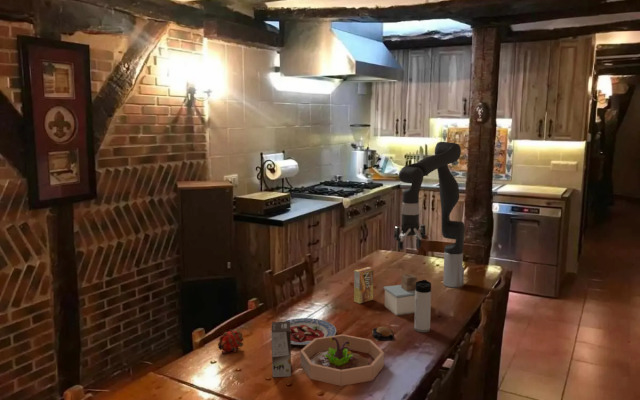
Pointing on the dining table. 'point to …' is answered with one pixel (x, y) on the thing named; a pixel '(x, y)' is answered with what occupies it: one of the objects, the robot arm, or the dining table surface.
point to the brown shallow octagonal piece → (347, 374)
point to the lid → (398, 291)
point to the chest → (400, 304)
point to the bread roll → (383, 334)
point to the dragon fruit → (230, 341)
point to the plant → (340, 358)
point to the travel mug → (422, 306)
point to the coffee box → (281, 349)
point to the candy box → (363, 285)
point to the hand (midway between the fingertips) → (409, 248)
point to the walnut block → (409, 282)
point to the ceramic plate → (309, 330)
